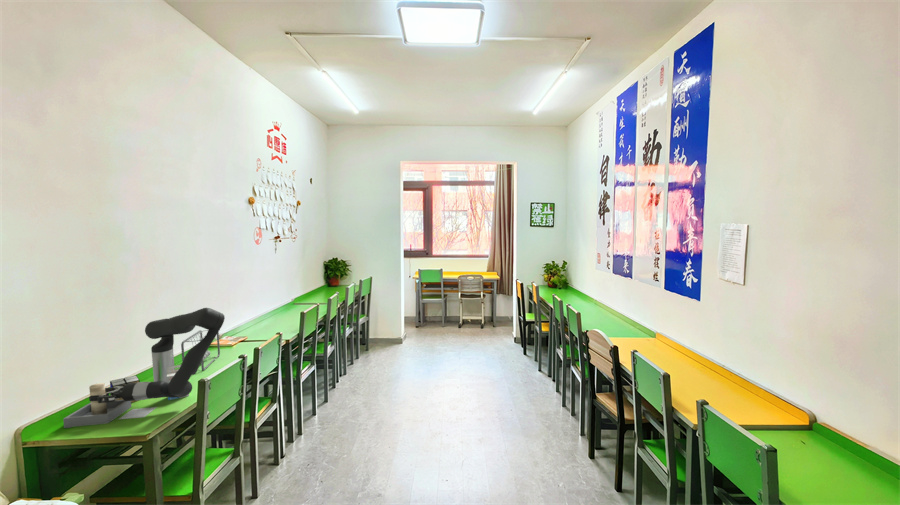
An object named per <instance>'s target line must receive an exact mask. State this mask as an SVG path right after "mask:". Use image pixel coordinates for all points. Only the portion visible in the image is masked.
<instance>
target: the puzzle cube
mask: <svg viewBox="0 0 900 505" xmlns="http://www.w3.org/2000/svg"><path fill="white" fill-rule="evenodd" d="M135 382H141V381H140V378H138V375H131V376H127V377H126V376H125V377H124V378H123V377H121V378H117V379H113V380H109V385H110V387H109V388H111V387H113V388H114V387H115V386H117V387H118V385H124V384H127V383H135ZM115 400H123V399H122V398H120V399H115ZM139 401H140V400H136V401H131V403H135V402H139Z"/></svg>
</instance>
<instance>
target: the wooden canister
mask: <svg viewBox="0 0 900 505" xmlns="http://www.w3.org/2000/svg"><path fill="white" fill-rule="evenodd" d="M105 388H106V384H105V383H103V382H99V383H95V384H91V385H89V388H88V389H89V397H90V396H94V395H103V394H106V393H105ZM103 399H104V398H103ZM90 403H91V413H92V415H97V414H106V413H107V405H106V403H98V401H91V402H90Z"/></svg>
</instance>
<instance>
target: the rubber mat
mask: <svg viewBox="0 0 900 505" xmlns="http://www.w3.org/2000/svg"><path fill="white" fill-rule="evenodd" d="M157 408H158V407H157V406H153V407H142V408H133V409H131V410H129V411H128V412H126V413H125V414H123V415H122V416H121V417H120V418H118V419H117V420H125V419H126V420H127V419H139V418H145V417H147V416H148V415H149V414H150V413H152V412H153V411H154V410H156V409H157Z"/></svg>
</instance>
